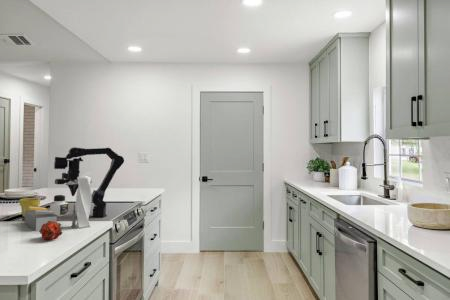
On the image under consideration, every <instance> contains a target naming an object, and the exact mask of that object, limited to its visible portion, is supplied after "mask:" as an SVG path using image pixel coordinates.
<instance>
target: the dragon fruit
mask: <svg viewBox="0 0 450 300" xmlns="http://www.w3.org/2000/svg"><path fill="white" fill-rule="evenodd" d="M39 233H40V234H41V238H42V239H44V240H45V241H46V242H48V241H51V240H53V239H55V240H56V239H58V238H59V237H60V236H61V235H63V230H62V224H61V223H60V222H58V221H57V222H56V221H52V222H51V221H48V222H47V223H46V224H43V225H42V227H41V230H40V231H39Z"/></svg>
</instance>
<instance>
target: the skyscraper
mask: <svg viewBox="0 0 450 300" xmlns="http://www.w3.org/2000/svg"><path fill="white" fill-rule="evenodd" d="M88 174H90V175H91V176H89V175H88ZM93 175H94V173H93V172H86V173H84V174H83V175H79V177H77V179H78V185H79V187H78V189H77V191H76V197H75V202H73V203H74V204H73V210H72V219H71V220H72V221H71V227H72V228H73V229H75V230H78V229H86V228H91V224H90V221H89V217H90V213H91V208H92V196H91V195H92V190H91V184H92V177H93ZM76 217H77V218H76ZM76 219H77V221H76Z"/></svg>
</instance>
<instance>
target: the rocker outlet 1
mask: <svg viewBox="0 0 450 300" xmlns="http://www.w3.org/2000/svg"><path fill="white" fill-rule="evenodd" d="M28 208H29V209H32V210H43V211H47V210H48V208H47V207H40V206H38V207H31V206H29V207H28Z"/></svg>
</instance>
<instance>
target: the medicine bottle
mask: <svg viewBox="0 0 450 300" xmlns="http://www.w3.org/2000/svg"><path fill="white" fill-rule="evenodd" d="M49 207H50V208H49V211H53V212H55V213H54V214H56V215H57V217H63V216H66V215H69V202H66V196H65V195H63V194H57V195H54V196H53V203H50V204H49Z"/></svg>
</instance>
